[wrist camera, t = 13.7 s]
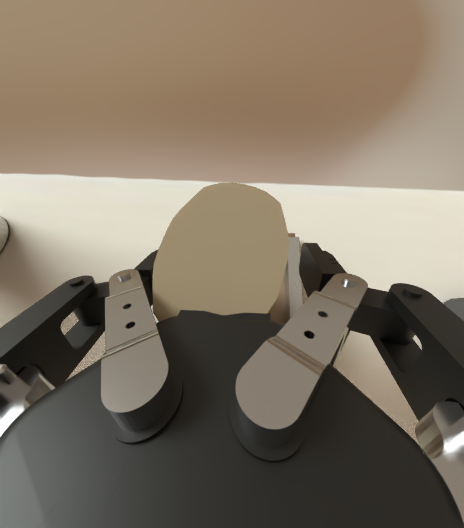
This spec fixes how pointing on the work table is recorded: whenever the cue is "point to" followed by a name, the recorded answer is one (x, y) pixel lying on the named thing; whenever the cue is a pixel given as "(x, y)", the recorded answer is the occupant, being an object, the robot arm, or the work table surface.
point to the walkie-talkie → (456, 306)
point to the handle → (222, 254)
